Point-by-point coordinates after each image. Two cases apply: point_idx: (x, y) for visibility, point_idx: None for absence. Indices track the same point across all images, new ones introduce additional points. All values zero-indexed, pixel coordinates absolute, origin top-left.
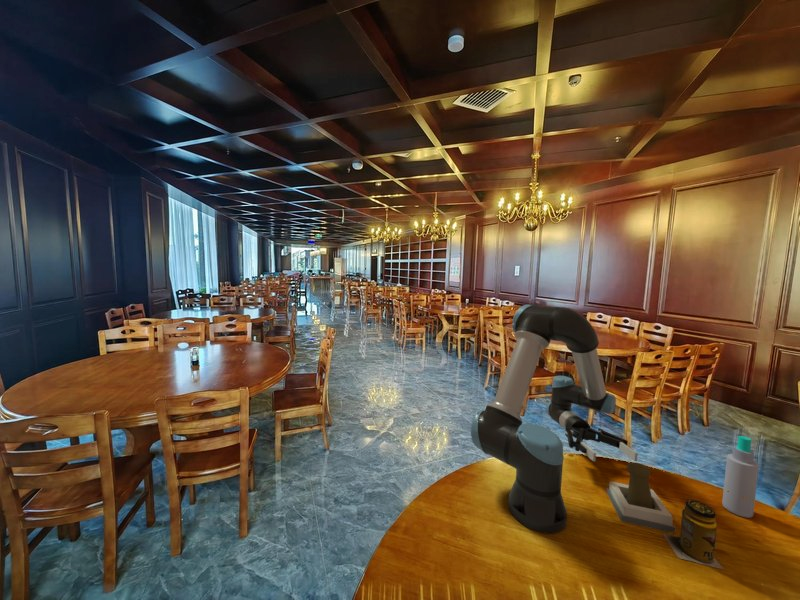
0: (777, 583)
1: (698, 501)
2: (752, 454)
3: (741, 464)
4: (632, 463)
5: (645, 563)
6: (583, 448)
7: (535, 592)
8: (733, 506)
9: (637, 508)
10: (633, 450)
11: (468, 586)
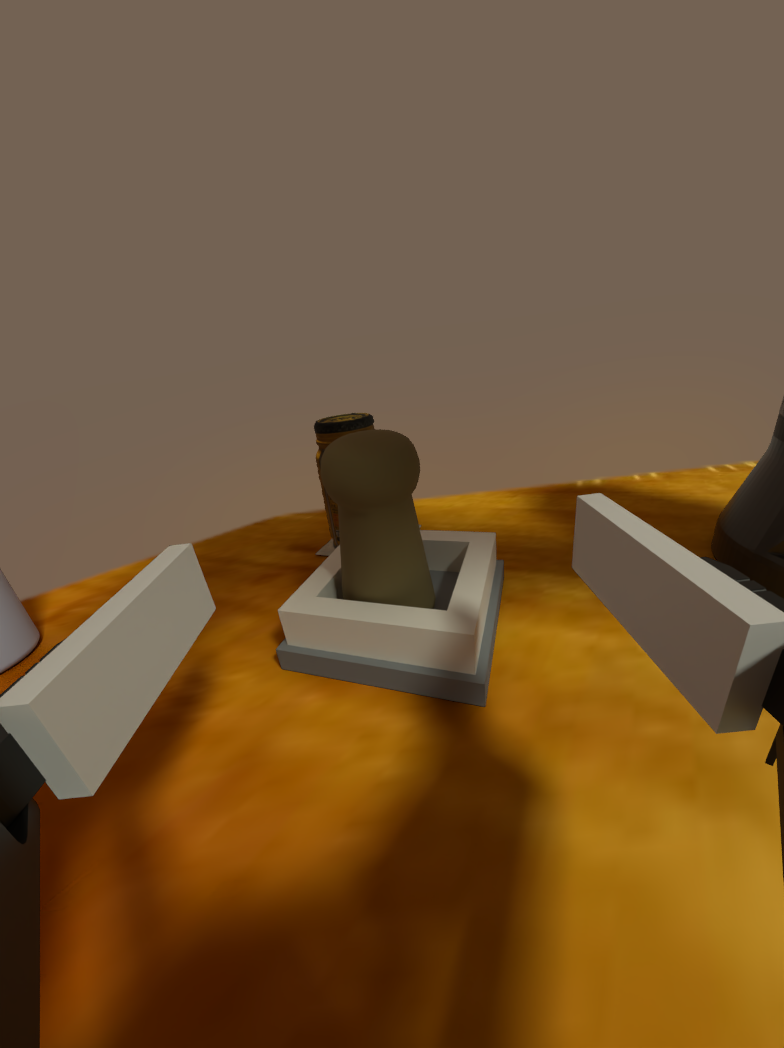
0: (278, 521)
1: (326, 422)
2: None
3: None
4: (385, 443)
5: (507, 511)
6: (710, 562)
7: (744, 463)
8: (25, 621)
9: (447, 534)
10: (146, 568)
11: None
